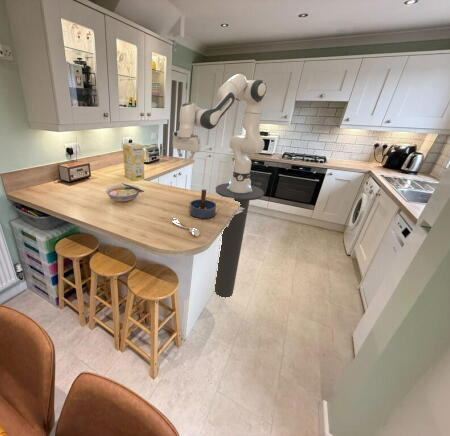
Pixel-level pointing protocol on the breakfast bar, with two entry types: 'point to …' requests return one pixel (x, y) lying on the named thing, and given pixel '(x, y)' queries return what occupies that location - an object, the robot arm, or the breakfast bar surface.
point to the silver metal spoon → (192, 230)
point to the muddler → (203, 199)
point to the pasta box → (133, 161)
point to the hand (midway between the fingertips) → (185, 157)
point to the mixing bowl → (202, 213)
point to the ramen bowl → (123, 192)
